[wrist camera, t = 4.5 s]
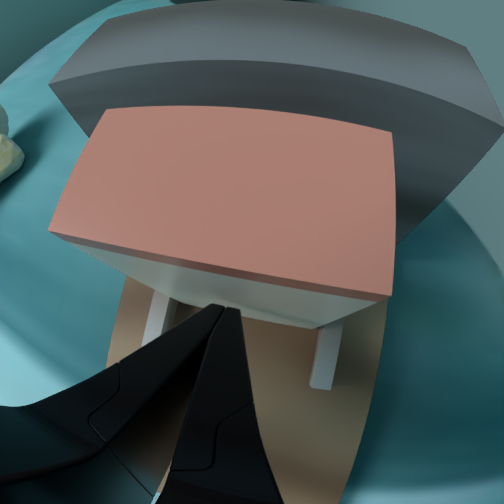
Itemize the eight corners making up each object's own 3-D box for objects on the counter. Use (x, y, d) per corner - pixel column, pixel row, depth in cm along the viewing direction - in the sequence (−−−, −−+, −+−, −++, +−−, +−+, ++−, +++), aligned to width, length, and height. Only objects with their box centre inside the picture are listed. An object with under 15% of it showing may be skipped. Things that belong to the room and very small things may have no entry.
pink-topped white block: (312, 329, 12) (391, 295, 4) (183, 303, 13) (47, 230, 5) (322, 264, 13) (391, 132, 5) (198, 243, 14) (106, 109, 5)
